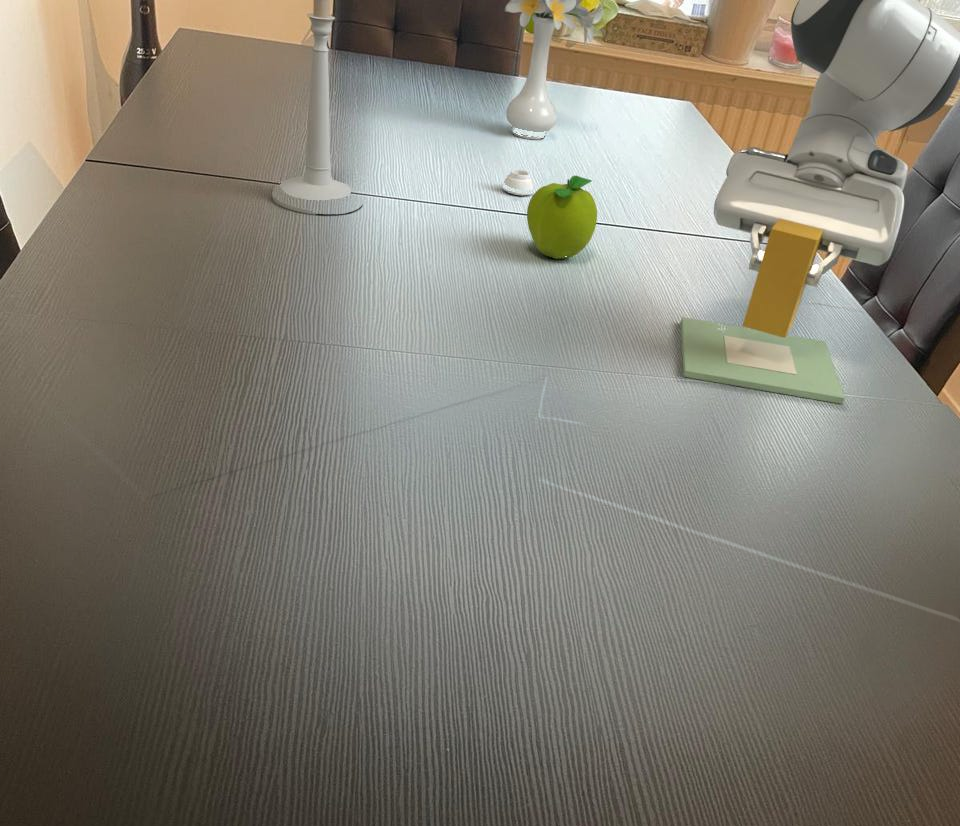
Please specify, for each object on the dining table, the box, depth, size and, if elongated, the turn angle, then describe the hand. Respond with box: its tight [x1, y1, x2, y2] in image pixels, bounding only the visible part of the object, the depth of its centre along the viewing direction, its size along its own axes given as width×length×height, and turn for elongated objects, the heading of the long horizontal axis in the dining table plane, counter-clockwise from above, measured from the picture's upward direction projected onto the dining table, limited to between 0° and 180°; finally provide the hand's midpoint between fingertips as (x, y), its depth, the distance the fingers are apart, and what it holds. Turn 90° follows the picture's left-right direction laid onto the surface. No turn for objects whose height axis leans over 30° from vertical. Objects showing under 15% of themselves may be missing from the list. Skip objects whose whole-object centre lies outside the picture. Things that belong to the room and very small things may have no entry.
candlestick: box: [271, 0, 351, 216], centre depth 136 cm, size 13×13×30 cm
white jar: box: [501, 169, 535, 197], centre depth 160 cm, size 5×3×5 cm
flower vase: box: [504, 0, 606, 141], centre depth 181 cm, size 13×18×25 cm
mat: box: [680, 316, 845, 405], centre depth 120 cm, size 18×16×1 cm
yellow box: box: [742, 219, 823, 338], centre depth 114 cm, size 5×5×11 cm
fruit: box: [526, 175, 598, 260], centre depth 137 cm, size 9×9×10 cm
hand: (783, 275), depth 113 cm, fingers closed on yellow box, 5 cm apart
